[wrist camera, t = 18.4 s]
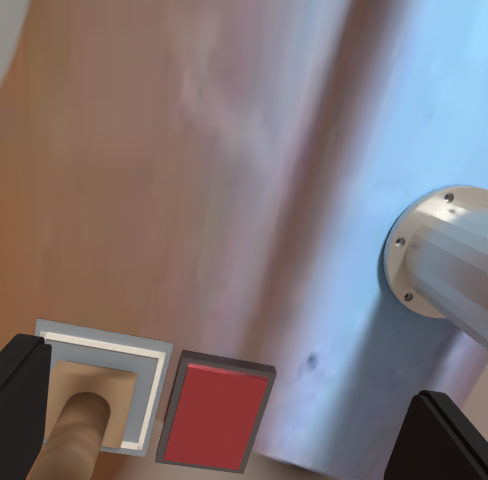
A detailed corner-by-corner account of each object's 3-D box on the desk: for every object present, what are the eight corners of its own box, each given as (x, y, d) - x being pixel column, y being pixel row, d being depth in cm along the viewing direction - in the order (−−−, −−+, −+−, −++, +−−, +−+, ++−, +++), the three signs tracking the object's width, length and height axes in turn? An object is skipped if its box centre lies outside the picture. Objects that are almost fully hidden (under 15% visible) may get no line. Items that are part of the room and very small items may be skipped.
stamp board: (173, 343, 37) (173, 346, 37) (145, 455, 40) (144, 459, 40) (37, 318, 35) (35, 321, 35) (19, 438, 38) (17, 442, 38)
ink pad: (274, 366, 39) (277, 375, 37) (242, 464, 42) (243, 476, 40) (183, 349, 37) (182, 359, 36) (156, 452, 40) (154, 464, 39)
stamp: (139, 368, 37) (119, 446, 28) (125, 429, 39) (102, 521, 30) (61, 354, 36) (14, 432, 27) (50, 418, 38) (2, 511, 29)
